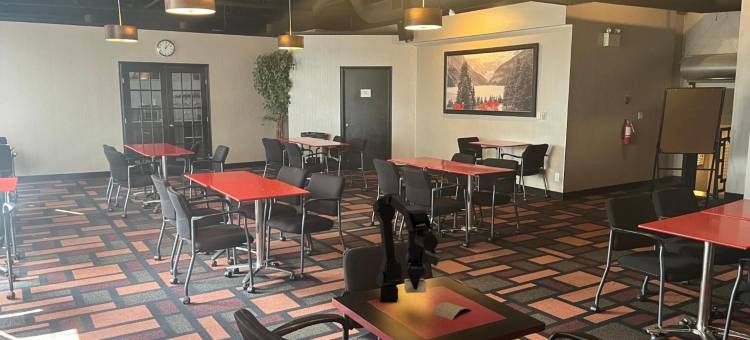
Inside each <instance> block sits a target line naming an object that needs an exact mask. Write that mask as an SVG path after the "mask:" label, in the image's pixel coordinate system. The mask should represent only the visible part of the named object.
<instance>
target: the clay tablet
mask: <svg viewBox="0 0 750 340" xmlns="http://www.w3.org/2000/svg"><path fill="white" fill-rule="evenodd" d="M464 309H465V310H469V311H471V309H470V308H467V307H464V306H460V305H457V304H453V303H451V302H441V303H439V304H438V305H437V306H435V307H434V309H433V310H432V312H431V314H432V315H436V316H439V317H442V318H445V319H449V320H451V321H452V320H453V319H454V318H455V316H457V314H458V313H460V311H462V310H464Z"/></svg>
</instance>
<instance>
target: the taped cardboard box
mask: <svg viewBox="0 0 750 340" xmlns="http://www.w3.org/2000/svg"><path fill="white" fill-rule="evenodd" d="M404 292H405V293H406V294H415V293H416V294H419V293H420V294H421V293H423V294H424V293H427V282H426V280H425V278H420V280H419V284H418V288H417V290H414V288H413V285H412V283H411V280H410V278H404Z"/></svg>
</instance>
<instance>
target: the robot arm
mask: <svg viewBox="0 0 750 340" xmlns="http://www.w3.org/2000/svg"><path fill="white" fill-rule="evenodd" d="M372 210H373V213H374V218H376V220H377V221H378V223H379V229H380V230H379V231H380V239H381V248H382V249H381V250H382V261H381V264H380V266H379V272H378V275H377V276H376V277H375V282H376V285H377V286H379V287H380V294H379V296H380V297H379V298H380V299H379V301H380V303H397V302H398V299H399V287H398V286H399V285H402V280H403V275H404V274H403V270H402V264H401V263H400V262H399V261H398V260H397V258H396V249H395V240H394V239H395V238H394V229H393V228H394V227H393V220H394V218H395V216H396V211H397V212H398V213H400V215H401V216H403V222H404V223H405V224H406V226H405V230H406V231H407V246H406V247H407V248H406V249H407V254H406V255H405V261H406V270H407V271H406V272H407V275H408V277H409V278H408V279H410V280H411V283H412V285H413V288H414V290H417V288H418V284H419V280H420V279H421V277H422V276H425V275H426V273H427V272H426V270H427V269H426V266H425V264H426V263H427V264H430V265H432V266H434V267H437V266H438V264H439V261H440V259H441V257H440V254H438V253H436V251H437V250H436V248H437V247H438V243H439V240H438V238H437V236H436V235H435V234H434V232H433V226H432V222H431V220H430V218H429V215H428V212H427V211H426V210H425V208H422V207H420V206H414V205H412V204H411V203H409V202H408V201H407V200H406V199H405V198H403V196H401V194H400V193H398V192H389V193H386V194H385V195H384V196H382V197H379V198H378V199H376V200H375V201H374V202H373V205H372ZM397 285H398V286H397Z"/></svg>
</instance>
